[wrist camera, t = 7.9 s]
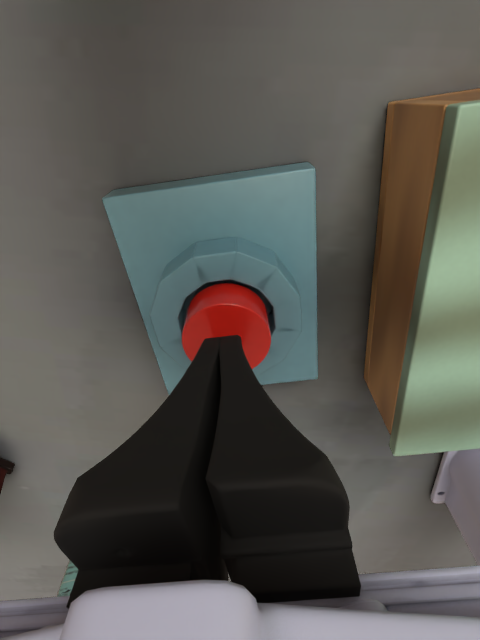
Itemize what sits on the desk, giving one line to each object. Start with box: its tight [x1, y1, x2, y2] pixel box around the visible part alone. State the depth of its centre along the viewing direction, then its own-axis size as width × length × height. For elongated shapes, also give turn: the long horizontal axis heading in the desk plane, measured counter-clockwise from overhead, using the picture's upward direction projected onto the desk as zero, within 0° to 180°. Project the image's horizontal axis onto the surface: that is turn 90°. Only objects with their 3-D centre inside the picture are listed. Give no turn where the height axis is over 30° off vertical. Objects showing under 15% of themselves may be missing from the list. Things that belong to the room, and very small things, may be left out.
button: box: [182, 283, 271, 369], centre depth 15 cm, size 4×4×2 cm
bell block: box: [102, 162, 318, 395], centre depth 16 cm, size 11×8×3 cm
